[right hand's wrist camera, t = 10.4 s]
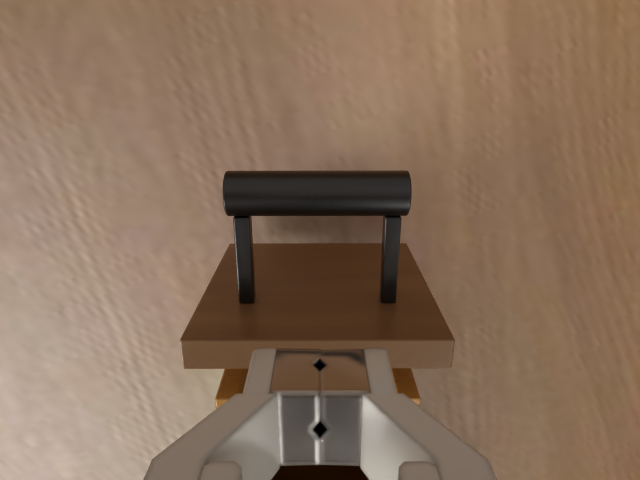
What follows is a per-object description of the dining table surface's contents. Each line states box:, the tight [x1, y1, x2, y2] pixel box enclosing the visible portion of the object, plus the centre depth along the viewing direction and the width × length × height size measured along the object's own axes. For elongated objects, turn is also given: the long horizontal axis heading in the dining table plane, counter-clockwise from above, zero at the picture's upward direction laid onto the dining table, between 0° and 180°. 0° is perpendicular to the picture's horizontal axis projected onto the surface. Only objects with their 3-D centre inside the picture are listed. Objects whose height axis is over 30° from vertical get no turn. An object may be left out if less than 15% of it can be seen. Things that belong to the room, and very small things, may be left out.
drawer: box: [180, 171, 455, 480], centre depth 22 cm, size 25×9×9 cm, turn 0°
